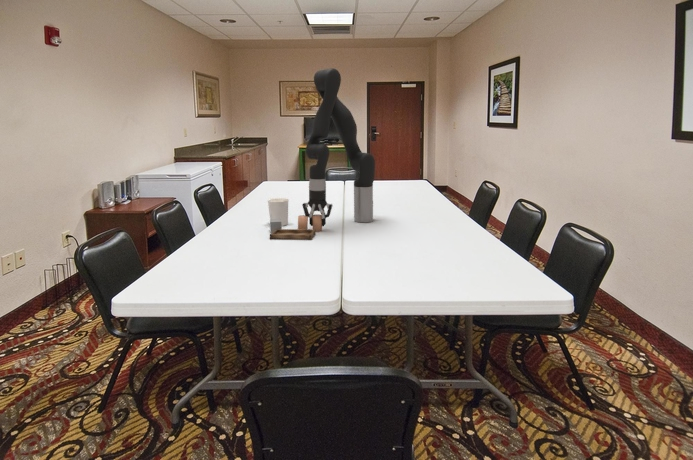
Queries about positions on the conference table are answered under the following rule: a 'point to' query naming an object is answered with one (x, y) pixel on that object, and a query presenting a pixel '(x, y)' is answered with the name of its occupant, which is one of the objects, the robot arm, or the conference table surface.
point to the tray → (293, 234)
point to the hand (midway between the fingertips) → (317, 225)
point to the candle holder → (279, 210)
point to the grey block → (275, 224)
